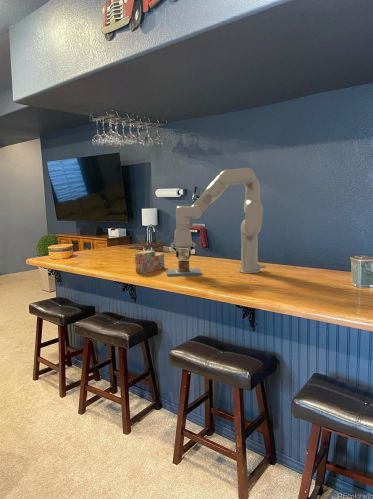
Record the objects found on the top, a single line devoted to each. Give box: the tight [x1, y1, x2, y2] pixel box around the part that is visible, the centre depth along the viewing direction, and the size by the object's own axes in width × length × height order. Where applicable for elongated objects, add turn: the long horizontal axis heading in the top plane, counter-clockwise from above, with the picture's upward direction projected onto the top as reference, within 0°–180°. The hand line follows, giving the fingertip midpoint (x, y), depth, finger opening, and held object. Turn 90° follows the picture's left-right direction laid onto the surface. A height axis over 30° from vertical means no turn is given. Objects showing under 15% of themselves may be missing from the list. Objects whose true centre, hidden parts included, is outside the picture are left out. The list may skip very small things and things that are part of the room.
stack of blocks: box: [134, 250, 165, 274], centre depth 233 cm, size 21×6×12 cm, turn 148°
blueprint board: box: [166, 267, 203, 277], centre depth 222 cm, size 20×14×1 cm
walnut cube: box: [177, 260, 190, 272], centre depth 221 cm, size 6×6×6 cm
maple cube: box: [177, 247, 190, 261], centre depth 220 cm, size 6×6×6 cm
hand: (183, 257), depth 221 cm, fingers closed on maple cube, 5 cm apart
